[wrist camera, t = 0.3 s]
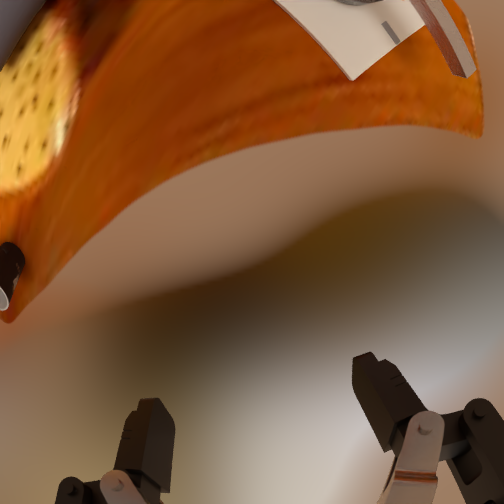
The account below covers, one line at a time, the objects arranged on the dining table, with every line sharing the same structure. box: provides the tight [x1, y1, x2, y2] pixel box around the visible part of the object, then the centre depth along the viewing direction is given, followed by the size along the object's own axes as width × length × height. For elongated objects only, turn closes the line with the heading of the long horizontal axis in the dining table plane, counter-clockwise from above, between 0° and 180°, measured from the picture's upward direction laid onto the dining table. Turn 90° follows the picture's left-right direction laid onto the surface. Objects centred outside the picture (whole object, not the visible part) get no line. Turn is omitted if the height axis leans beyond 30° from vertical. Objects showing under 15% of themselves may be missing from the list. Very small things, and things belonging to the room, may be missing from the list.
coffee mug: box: [0, 242, 25, 310], centre depth 33 cm, size 12×9×10 cm
